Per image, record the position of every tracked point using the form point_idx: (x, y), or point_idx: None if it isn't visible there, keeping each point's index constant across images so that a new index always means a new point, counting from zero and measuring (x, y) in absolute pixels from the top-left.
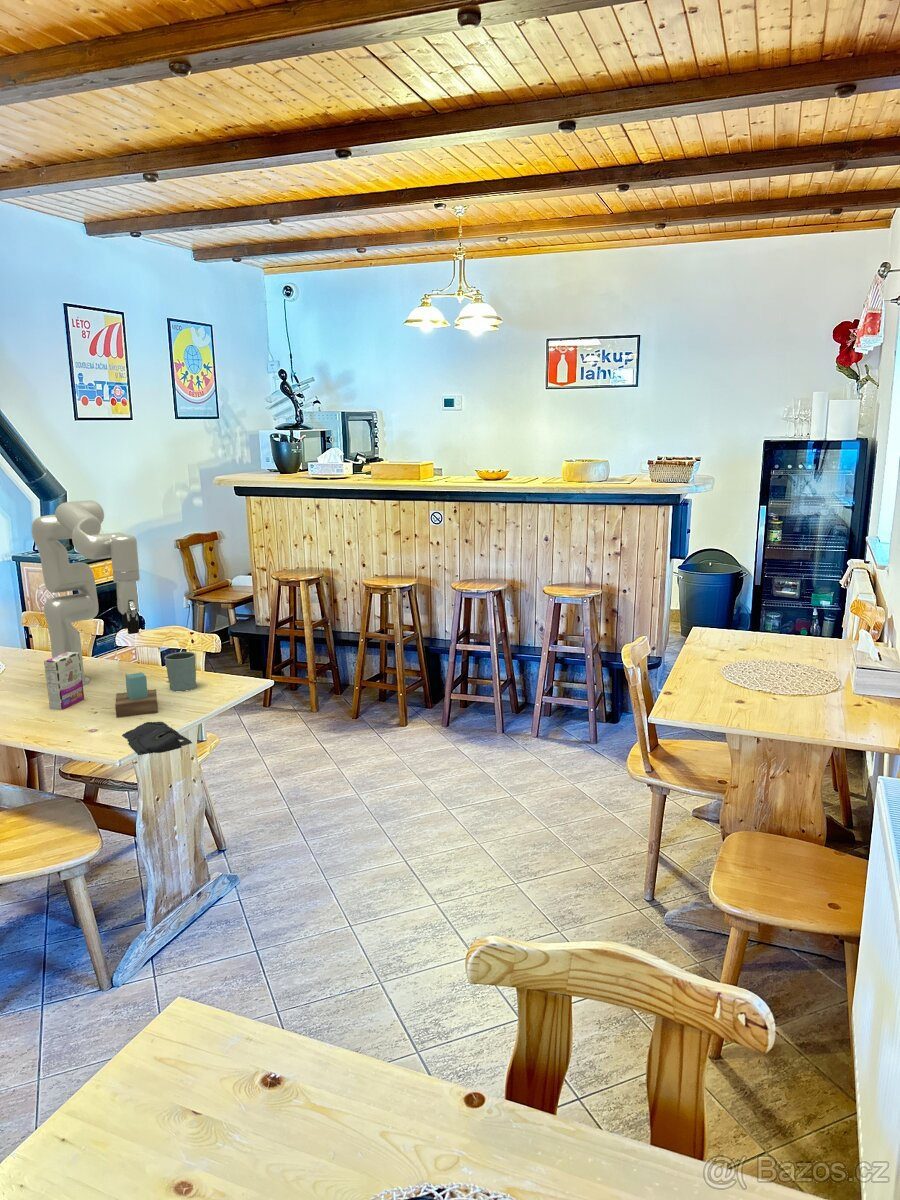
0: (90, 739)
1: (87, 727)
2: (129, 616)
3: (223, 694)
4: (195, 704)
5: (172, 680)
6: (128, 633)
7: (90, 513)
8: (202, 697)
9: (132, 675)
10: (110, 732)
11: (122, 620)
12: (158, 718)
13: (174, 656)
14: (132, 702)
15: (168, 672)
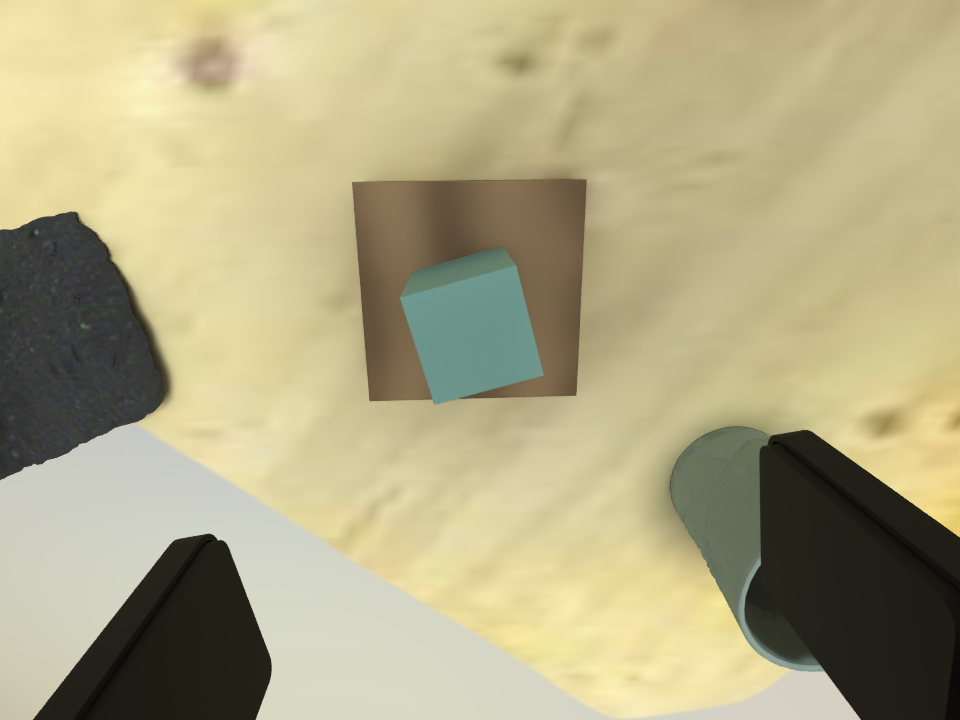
0: (67, 57)
1: (270, 28)
2: (913, 718)
3: (562, 623)
4: (466, 522)
5: (718, 469)
6: (178, 543)
7: None
8: (556, 550)
9: (482, 316)
10: (160, 159)
11: (877, 506)
12: (316, 376)
13: None
14: (368, 278)
15: None
